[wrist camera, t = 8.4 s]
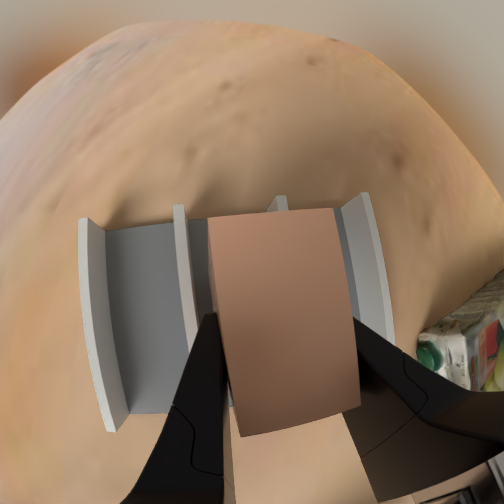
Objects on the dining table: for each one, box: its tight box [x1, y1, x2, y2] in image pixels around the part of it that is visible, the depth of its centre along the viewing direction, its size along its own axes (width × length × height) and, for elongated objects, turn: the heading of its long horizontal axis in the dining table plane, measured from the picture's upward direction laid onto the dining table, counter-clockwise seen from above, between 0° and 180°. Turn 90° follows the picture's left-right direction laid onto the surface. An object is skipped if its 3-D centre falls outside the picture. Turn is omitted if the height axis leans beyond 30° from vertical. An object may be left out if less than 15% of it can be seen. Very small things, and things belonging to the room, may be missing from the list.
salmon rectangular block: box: [208, 207, 361, 437], centre depth 11 cm, size 5×3×10 cm, turn 8°
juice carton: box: [416, 269, 504, 392], centre depth 17 cm, size 20×10×6 cm, turn 108°
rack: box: [78, 192, 396, 432], centre depth 15 cm, size 12×19×4 cm, turn 98°
